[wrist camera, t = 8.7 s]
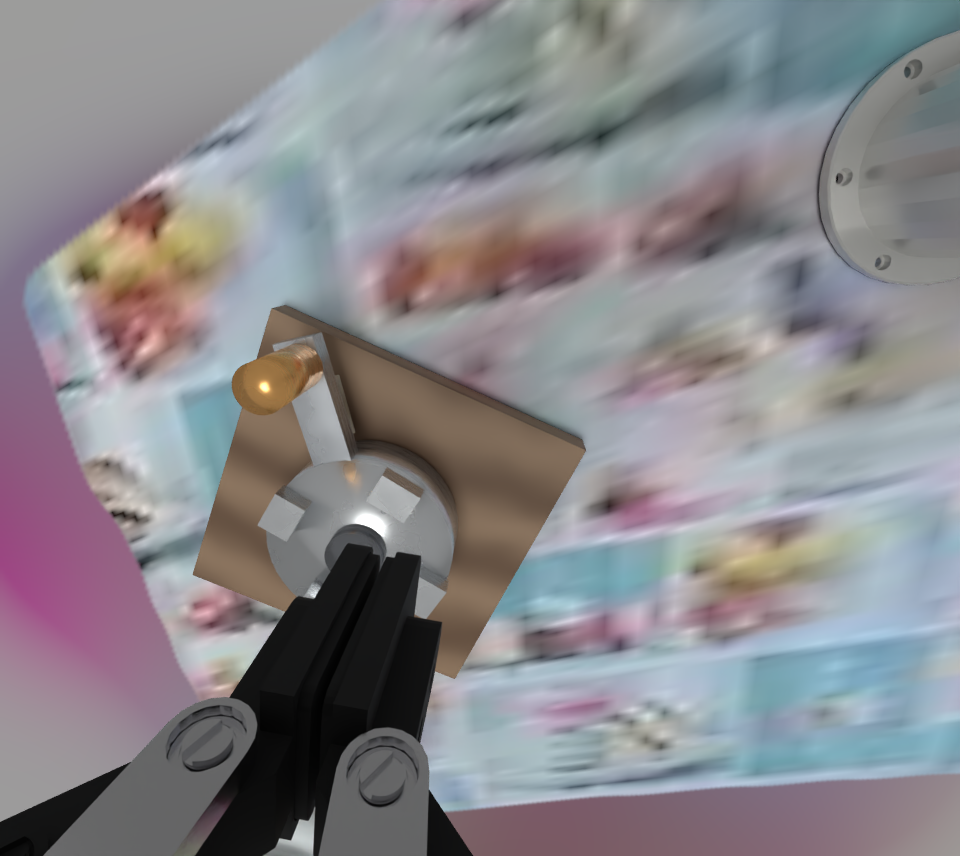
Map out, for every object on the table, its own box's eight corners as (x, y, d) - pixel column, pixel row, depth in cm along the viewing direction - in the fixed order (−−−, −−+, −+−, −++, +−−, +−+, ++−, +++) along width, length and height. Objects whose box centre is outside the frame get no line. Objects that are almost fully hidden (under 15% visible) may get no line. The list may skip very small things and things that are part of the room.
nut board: (285, 305, 33) (270, 308, 31) (582, 439, 35) (586, 451, 33) (207, 559, 40) (191, 576, 38) (457, 659, 42) (454, 680, 40)
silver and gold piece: (474, 578, 37) (463, 668, 29) (320, 599, 38) (269, 691, 30) (407, 311, 31) (370, 333, 23) (226, 349, 32) (132, 382, 24)
